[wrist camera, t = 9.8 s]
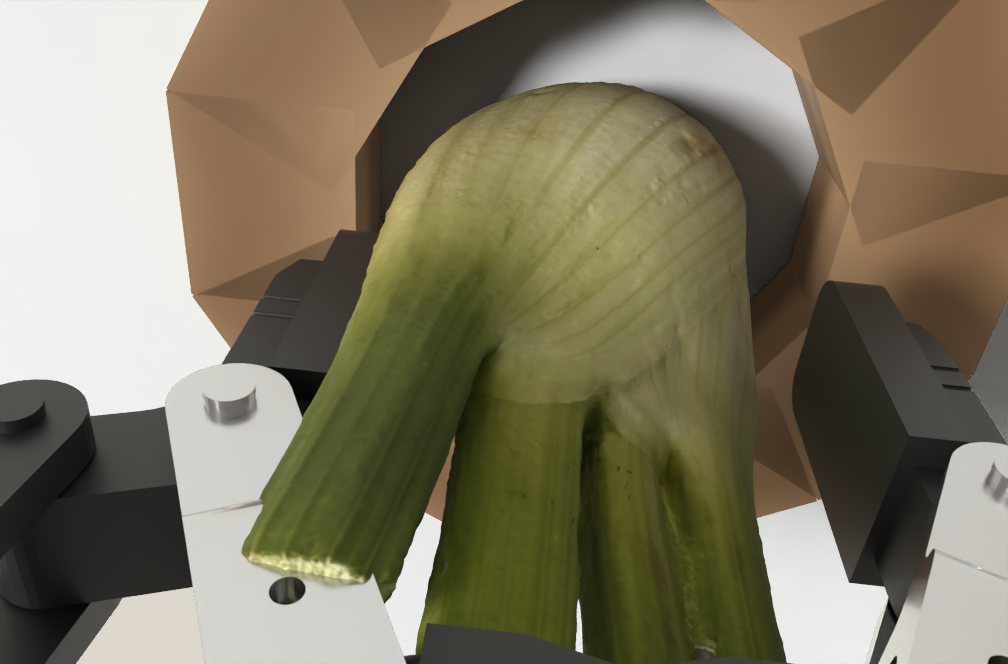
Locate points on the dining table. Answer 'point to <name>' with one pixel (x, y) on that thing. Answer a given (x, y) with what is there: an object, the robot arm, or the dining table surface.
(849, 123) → the walnut ring
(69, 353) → the dining table surface
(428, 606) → the fennel bulb
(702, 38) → the dining table surface
